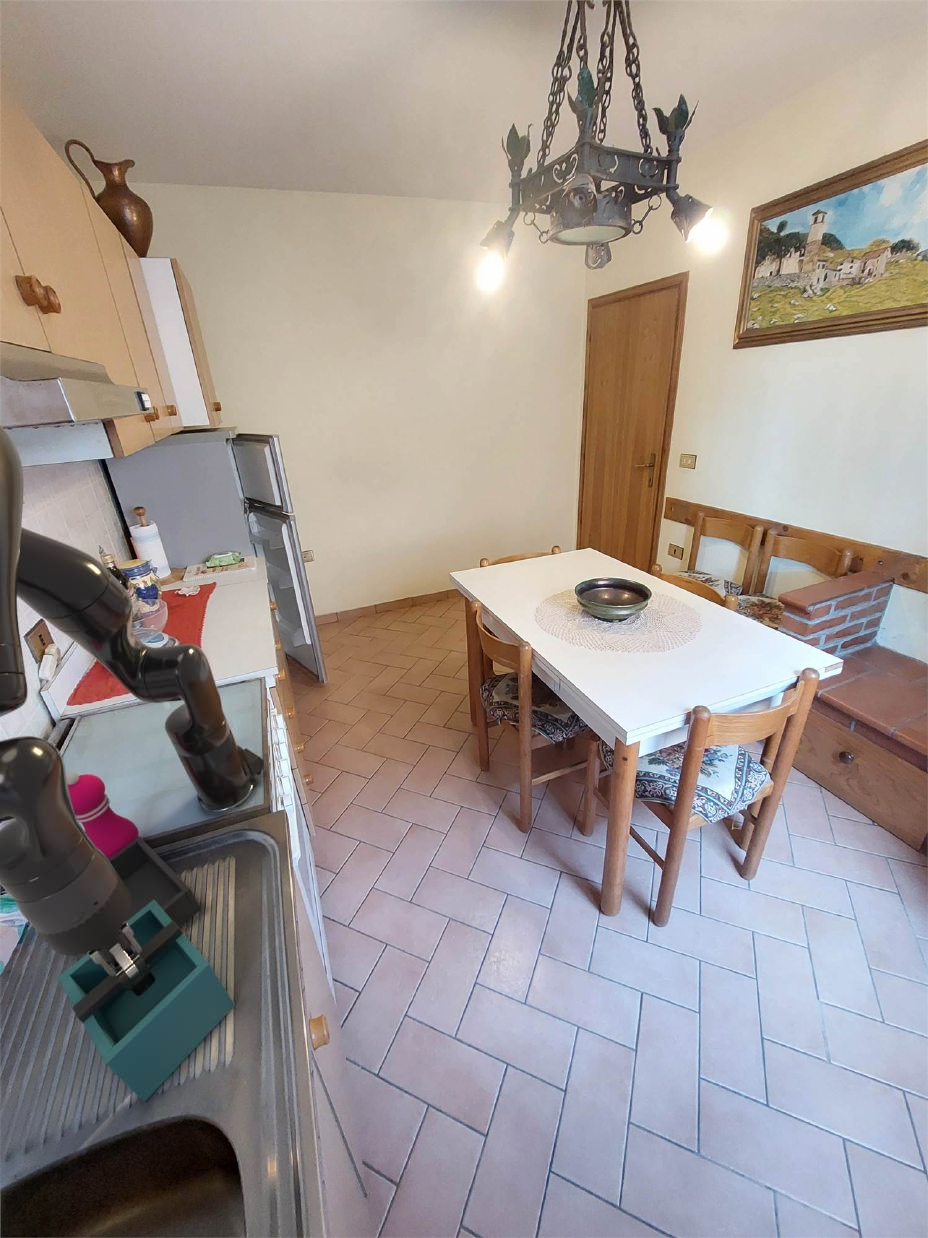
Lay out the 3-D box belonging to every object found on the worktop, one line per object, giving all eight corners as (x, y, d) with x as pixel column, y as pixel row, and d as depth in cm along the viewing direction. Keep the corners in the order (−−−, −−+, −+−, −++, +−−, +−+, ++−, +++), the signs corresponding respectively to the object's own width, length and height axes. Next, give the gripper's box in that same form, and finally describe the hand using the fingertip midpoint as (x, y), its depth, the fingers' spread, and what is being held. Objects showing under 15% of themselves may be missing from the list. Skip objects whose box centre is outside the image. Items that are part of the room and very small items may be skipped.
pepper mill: (125, 880, 81) (67, 795, 72) (89, 874, 83) (28, 791, 73) (157, 841, 87) (107, 759, 78) (123, 837, 89) (70, 755, 79)
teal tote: (180, 940, 72) (150, 893, 66) (235, 1005, 64) (205, 958, 58) (94, 1018, 64) (52, 972, 58) (144, 1103, 56) (100, 1059, 50)
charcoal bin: (153, 858, 84) (139, 836, 82) (203, 911, 75) (189, 888, 73) (62, 927, 75) (43, 904, 72) (107, 997, 66) (87, 974, 63)
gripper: (141, 901, 51) (199, 987, 59) (89, 838, 58) (147, 922, 66) (57, 968, 45) (134, 1052, 54) (12, 890, 53) (85, 974, 61)
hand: (141, 980), depth 60 cm, fingers closed on teal tote
